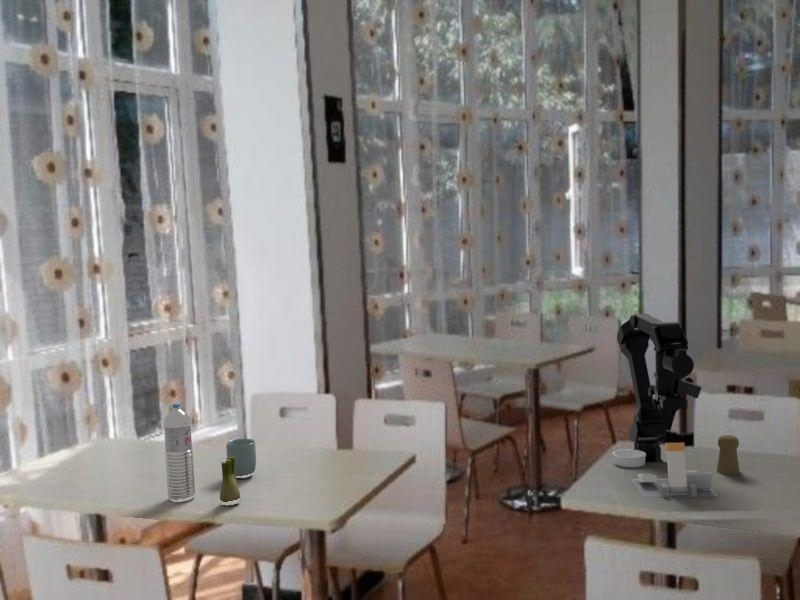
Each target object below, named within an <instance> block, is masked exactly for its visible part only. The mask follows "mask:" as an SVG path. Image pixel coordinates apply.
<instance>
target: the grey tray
mask: <svg viewBox="0 0 800 600" xmlns="http://www.w3.org/2000/svg"><path fill="white" fill-rule="evenodd" d="M629 480H630V483H631V484H632V485H633V486H634V488H635V490H636V491H637V493H638V495H640V497H641V498H693V497H694V498H695V497H696V498H703V497H707V498H708V497H709V498H710V497H712V498H713V497H719V496H718V495H717V493H716V492H714V490H713V489H712V488H711V489H697V487H696V485H695V484H694V483H688V493H671V494H669V493H668V486H669V481H668V477H667V478H661V477H660V478H659V477H658V478H657V482H641V481H639V480H638V478H629Z"/></svg>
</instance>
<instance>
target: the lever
mask: <svg viewBox="0 0 800 600" xmlns="http://www.w3.org/2000/svg"><path fill="white" fill-rule="evenodd" d="M685 447H686V446H685V442H665V452H666V461H667V462H666V463H667V464H666V465H667V478H668V481H669V486H668V493H669V494H671V493H688V486H687V481H686V471H687V469H686V455H685V451H686V448H685Z"/></svg>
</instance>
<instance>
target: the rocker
mask: <svg viewBox="0 0 800 600" xmlns="http://www.w3.org/2000/svg"><path fill="white" fill-rule="evenodd" d="M657 477H658V476H657V475H656V474H654V473H637V479H638V480H639V481H641V482H657Z"/></svg>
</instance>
